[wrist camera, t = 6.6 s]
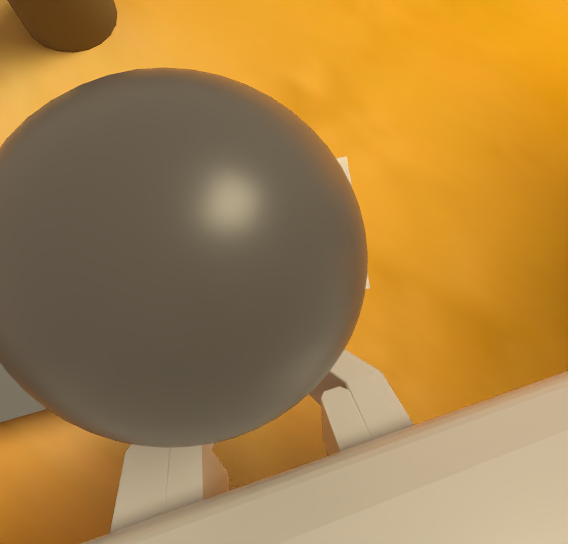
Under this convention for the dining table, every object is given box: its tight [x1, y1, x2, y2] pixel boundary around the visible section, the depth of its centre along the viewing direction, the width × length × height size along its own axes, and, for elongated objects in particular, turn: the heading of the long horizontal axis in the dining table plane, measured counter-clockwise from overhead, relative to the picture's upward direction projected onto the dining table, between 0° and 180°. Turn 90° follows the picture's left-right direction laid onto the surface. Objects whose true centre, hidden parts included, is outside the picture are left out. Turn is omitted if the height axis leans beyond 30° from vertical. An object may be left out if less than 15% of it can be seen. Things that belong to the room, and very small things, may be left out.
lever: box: [0, 68, 370, 448], centre depth 8 cm, size 3×6×13 cm, turn 105°
